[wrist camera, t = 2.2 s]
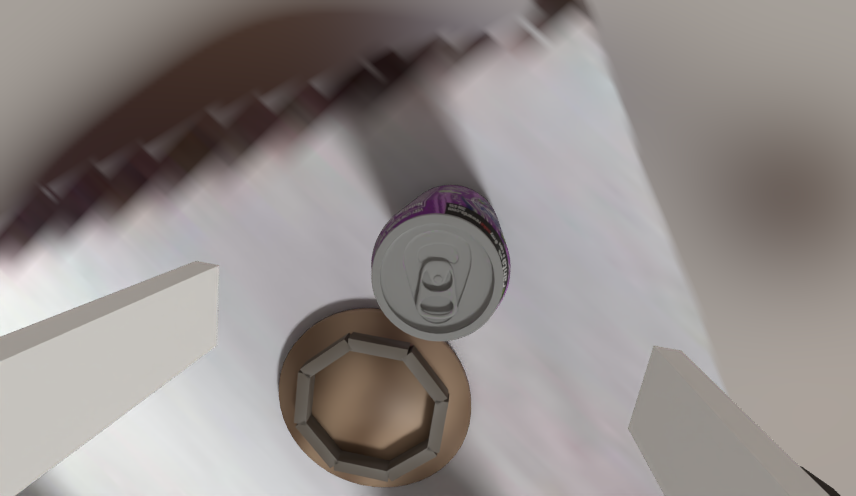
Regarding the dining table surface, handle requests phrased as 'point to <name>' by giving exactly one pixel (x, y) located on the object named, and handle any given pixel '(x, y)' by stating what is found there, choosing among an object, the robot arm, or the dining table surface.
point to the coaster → (374, 399)
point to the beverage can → (441, 265)
